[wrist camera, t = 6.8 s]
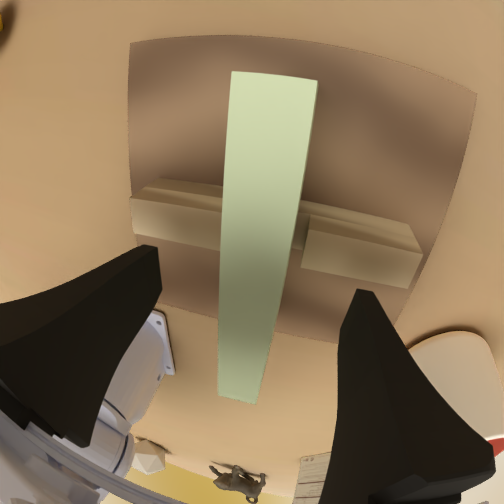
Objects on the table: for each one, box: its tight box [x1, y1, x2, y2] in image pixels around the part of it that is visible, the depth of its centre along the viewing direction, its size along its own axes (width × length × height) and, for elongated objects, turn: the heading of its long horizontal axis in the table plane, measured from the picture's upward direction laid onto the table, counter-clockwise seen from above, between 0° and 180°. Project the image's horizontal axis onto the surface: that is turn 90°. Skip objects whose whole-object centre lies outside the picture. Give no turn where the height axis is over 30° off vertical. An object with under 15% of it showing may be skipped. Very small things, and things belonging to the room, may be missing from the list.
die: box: [131, 439, 165, 475], centre depth 49 cm, size 8×9×10 cm
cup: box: [408, 331, 504, 457], centre depth 16 cm, size 10×10×10 cm
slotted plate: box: [218, 71, 319, 405], centre depth 12 cm, size 14×2×7 cm, turn 174°
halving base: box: [128, 35, 477, 344], centre depth 15 cm, size 18×18×4 cm
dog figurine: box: [209, 465, 266, 504], centre depth 45 cm, size 12×6×8 cm, turn 56°
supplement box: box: [292, 452, 331, 504], centre depth 31 cm, size 7×7×13 cm
